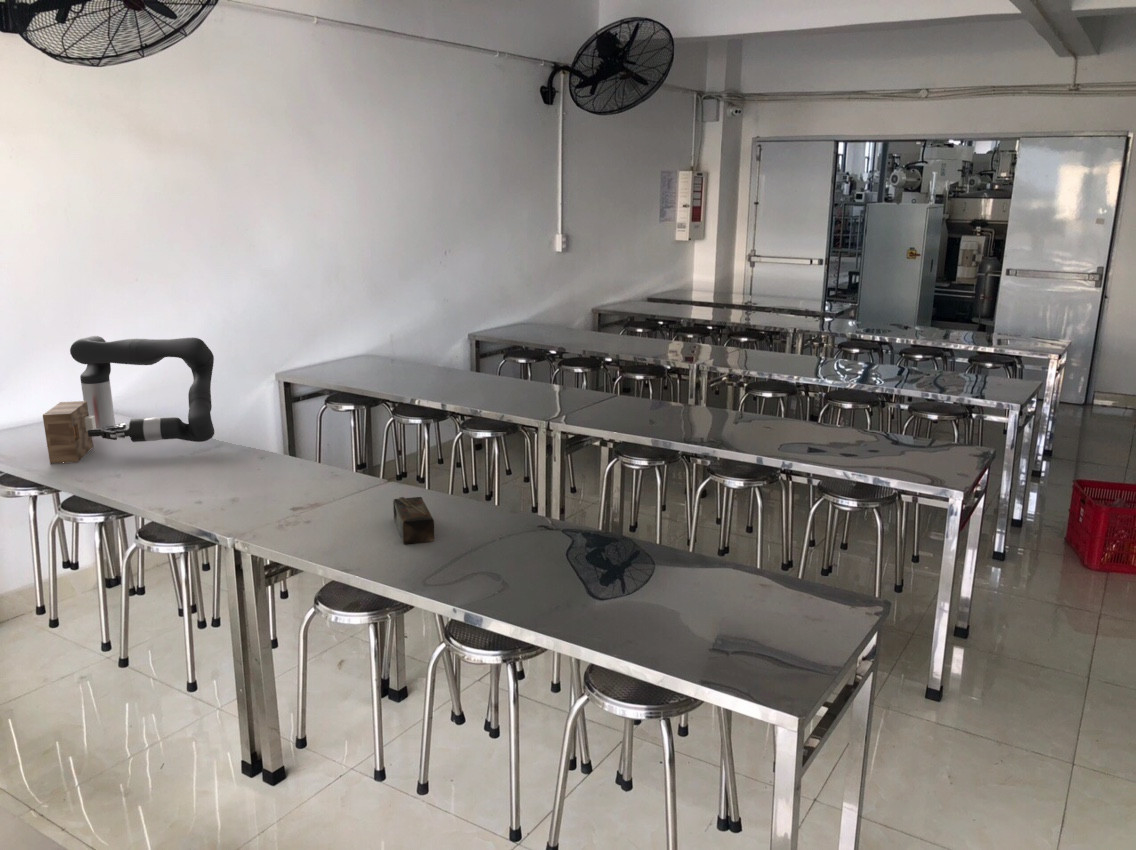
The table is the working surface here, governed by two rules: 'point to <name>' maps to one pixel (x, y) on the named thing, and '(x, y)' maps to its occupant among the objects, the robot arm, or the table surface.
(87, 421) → the white key
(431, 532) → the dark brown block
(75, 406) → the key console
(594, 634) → the table surface
